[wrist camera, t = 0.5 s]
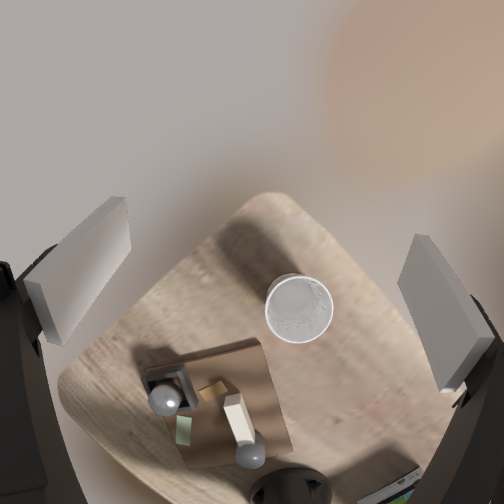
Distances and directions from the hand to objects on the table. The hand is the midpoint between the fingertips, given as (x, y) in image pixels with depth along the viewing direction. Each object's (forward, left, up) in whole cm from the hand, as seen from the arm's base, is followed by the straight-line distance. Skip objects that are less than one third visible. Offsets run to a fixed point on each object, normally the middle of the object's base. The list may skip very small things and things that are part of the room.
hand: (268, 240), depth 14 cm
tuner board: (-24, +13, -32) cm, 42 cm away
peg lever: (-26, +10, -30) cm, 41 cm away
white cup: (-8, -2, -32) cm, 33 cm away
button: (-17, +19, -28) cm, 38 cm away
